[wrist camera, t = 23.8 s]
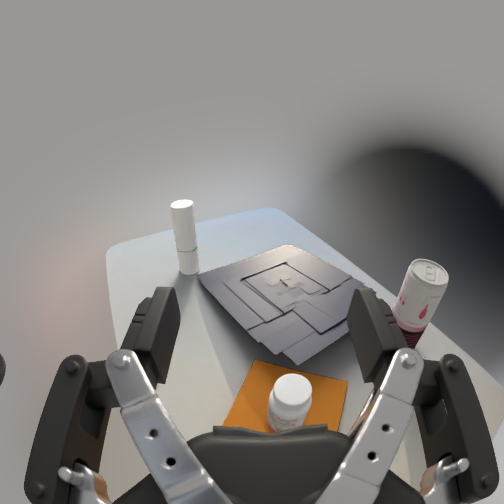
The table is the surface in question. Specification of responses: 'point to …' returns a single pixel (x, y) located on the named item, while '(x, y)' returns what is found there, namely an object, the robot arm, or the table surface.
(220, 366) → the table surface
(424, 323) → the beverage can
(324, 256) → the table surface
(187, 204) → the tube
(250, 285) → the papers
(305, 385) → the pill bottle
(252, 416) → the amber mat
